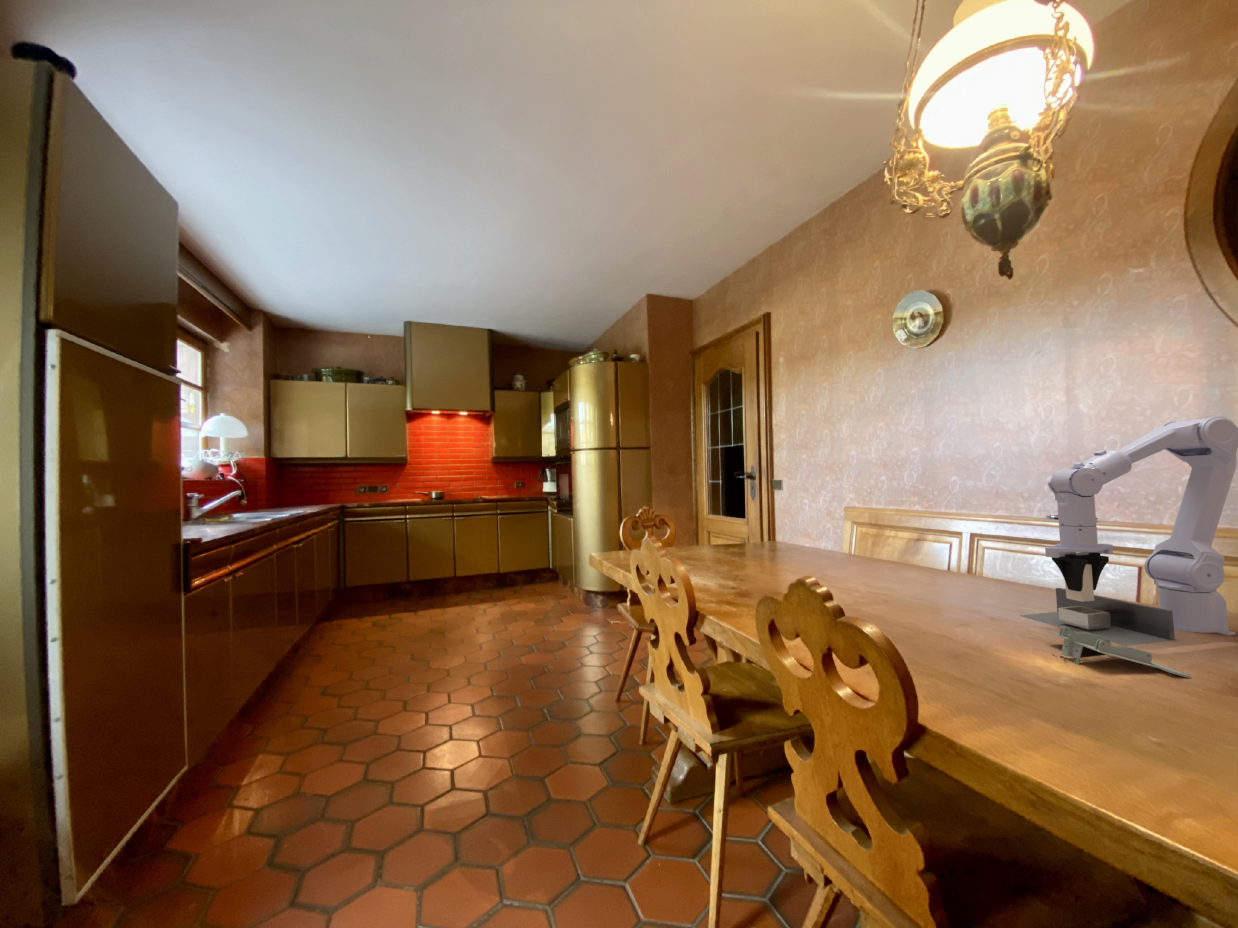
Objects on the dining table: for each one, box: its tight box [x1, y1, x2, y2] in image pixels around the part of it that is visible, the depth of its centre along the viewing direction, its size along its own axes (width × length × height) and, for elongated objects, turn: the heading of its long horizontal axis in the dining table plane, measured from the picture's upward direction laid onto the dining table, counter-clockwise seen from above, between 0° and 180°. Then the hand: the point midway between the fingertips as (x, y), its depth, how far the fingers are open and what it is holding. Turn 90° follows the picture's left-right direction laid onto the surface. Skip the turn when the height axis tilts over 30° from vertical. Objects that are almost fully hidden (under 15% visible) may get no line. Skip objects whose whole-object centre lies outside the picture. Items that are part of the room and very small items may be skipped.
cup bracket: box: [1055, 587, 1176, 641], centre depth 98 cm, size 10×20×6 cm, turn 9°
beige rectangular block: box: [1064, 564, 1095, 602], centre depth 99 cm, size 3×3×8 cm
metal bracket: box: [1047, 626, 1193, 679], centre depth 83 cm, size 14×6×15 cm
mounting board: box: [1019, 611, 1177, 646], centre depth 98 cm, size 12×20×1 cm, turn 9°
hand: (1081, 589), depth 98 cm, fingers closed on beige rectangular block, 3 cm apart
